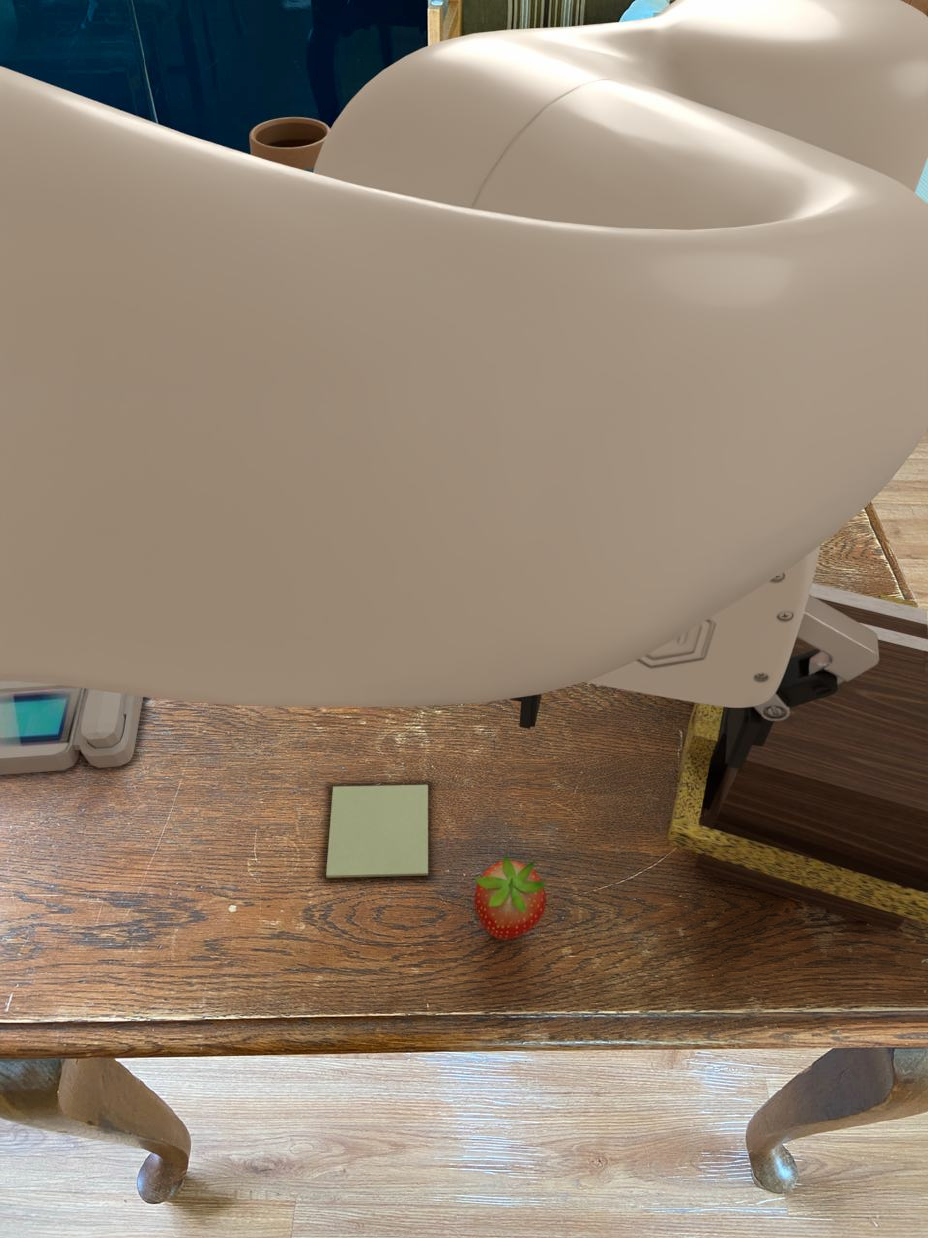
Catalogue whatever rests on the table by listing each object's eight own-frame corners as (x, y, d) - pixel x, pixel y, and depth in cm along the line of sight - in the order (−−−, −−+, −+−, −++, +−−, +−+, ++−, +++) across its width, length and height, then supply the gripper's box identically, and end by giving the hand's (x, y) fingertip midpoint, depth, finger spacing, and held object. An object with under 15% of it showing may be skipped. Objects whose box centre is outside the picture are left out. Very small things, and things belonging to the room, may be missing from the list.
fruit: (481, 883, 71) (483, 835, 65) (546, 897, 70) (554, 850, 64) (466, 950, 67) (467, 905, 61) (534, 965, 67) (542, 921, 61)
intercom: (158, 525, 90) (118, 738, 74) (168, 556, 94) (132, 765, 78) (22, 533, 90) (-48, 749, 74) (38, 563, 93) (-26, 776, 77)
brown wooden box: (706, 624, 90) (650, 886, 70) (743, 508, 79) (691, 777, 59) (929, 681, 85) (938, 977, 65) (999, 567, 75) (1036, 877, 55)
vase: (232, 341, 121) (187, 128, 101) (332, 300, 128) (309, 93, 108) (301, 396, 113) (268, 176, 93) (404, 349, 120) (393, 135, 100)
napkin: (428, 875, 71) (428, 873, 71) (326, 878, 71) (325, 876, 71) (428, 787, 77) (427, 784, 76) (333, 789, 76) (332, 786, 76)
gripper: (420, 469, 29) (436, 754, 42) (991, 555, 26) (820, 830, 39) (472, 341, 34) (472, 632, 47) (961, 403, 31) (817, 694, 44)
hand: (631, 723), depth 43 cm, fingers open, 9 cm apart
